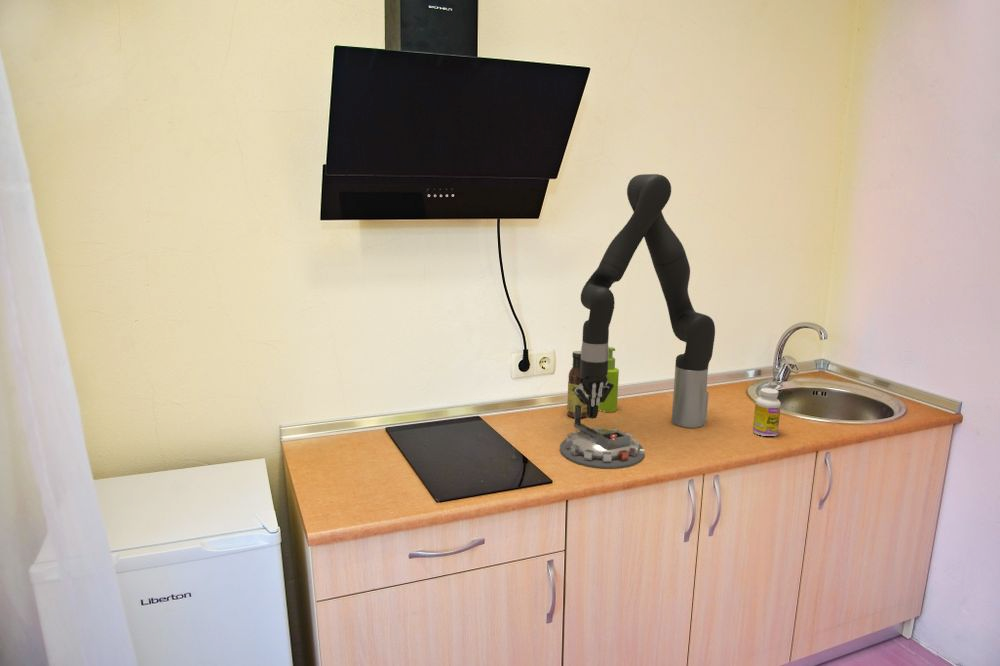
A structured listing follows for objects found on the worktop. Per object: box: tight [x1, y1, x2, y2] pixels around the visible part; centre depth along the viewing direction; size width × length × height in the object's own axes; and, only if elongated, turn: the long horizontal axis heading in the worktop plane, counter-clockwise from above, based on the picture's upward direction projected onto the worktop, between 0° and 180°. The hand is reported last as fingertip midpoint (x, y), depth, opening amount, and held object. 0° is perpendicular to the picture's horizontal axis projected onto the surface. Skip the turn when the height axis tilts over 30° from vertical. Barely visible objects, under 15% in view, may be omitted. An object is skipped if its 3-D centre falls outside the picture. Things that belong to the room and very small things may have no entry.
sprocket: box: [565, 405, 640, 462], centre depth 171 cm, size 19×21×8 cm
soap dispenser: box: [598, 346, 620, 413], centre depth 201 cm, size 6×7×20 cm
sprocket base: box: [559, 438, 646, 470], centre depth 171 cm, size 22×22×2 cm
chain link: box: [596, 429, 630, 450], centre depth 167 cm, size 7×5×2 cm
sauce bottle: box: [566, 350, 588, 419], centre depth 196 cm, size 6×6×20 cm
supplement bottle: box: [752, 387, 782, 437], centre depth 183 cm, size 7×7×13 cm
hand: (592, 417), depth 181 cm, fingers closed
